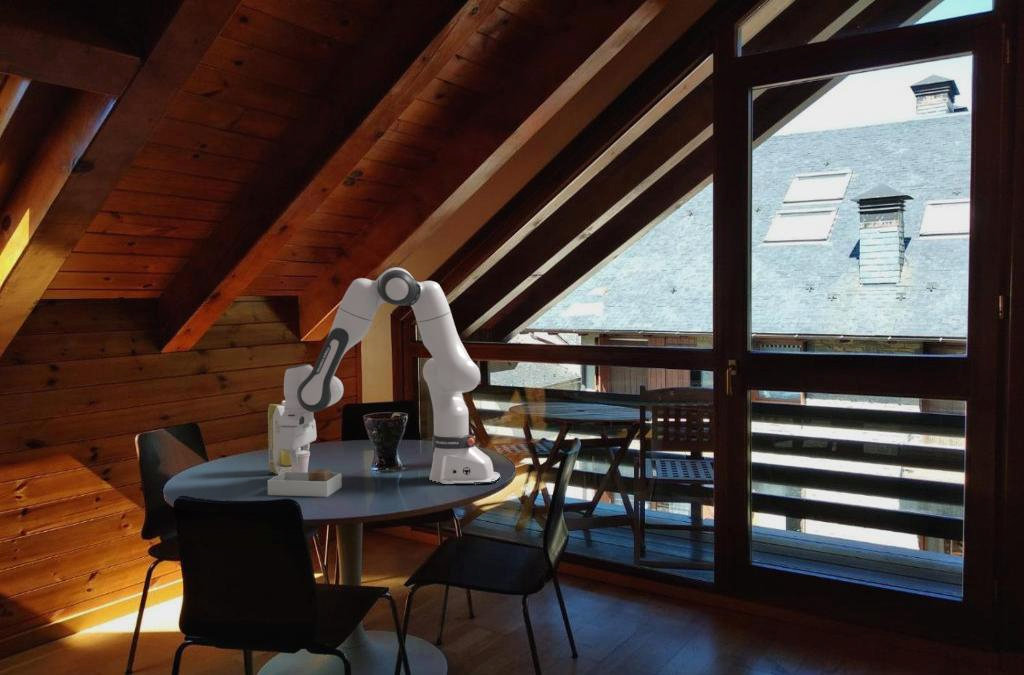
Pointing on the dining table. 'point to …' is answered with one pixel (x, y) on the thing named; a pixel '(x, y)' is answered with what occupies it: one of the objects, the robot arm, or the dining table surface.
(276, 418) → the juice carton
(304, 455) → the smoothie
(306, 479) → the crate
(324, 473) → the walnut block
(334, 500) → the dining table surface
